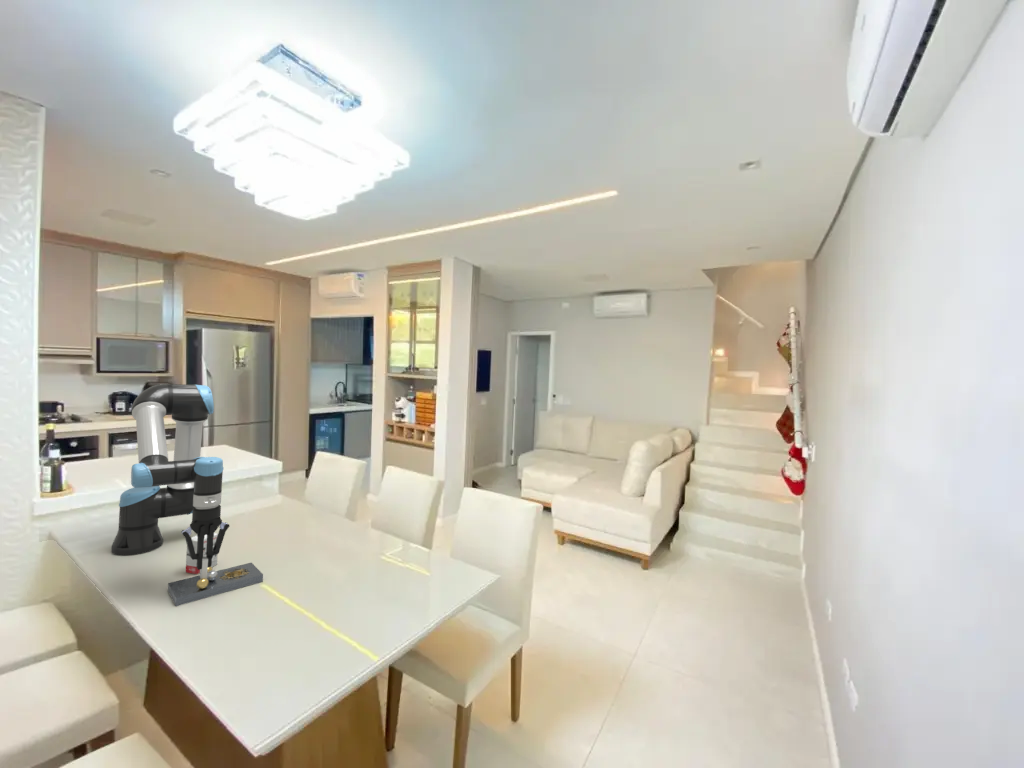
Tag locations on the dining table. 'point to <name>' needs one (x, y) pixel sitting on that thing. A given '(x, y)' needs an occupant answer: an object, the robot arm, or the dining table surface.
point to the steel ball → (212, 575)
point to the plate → (214, 584)
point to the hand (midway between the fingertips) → (203, 577)
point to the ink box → (192, 564)
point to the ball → (202, 583)
